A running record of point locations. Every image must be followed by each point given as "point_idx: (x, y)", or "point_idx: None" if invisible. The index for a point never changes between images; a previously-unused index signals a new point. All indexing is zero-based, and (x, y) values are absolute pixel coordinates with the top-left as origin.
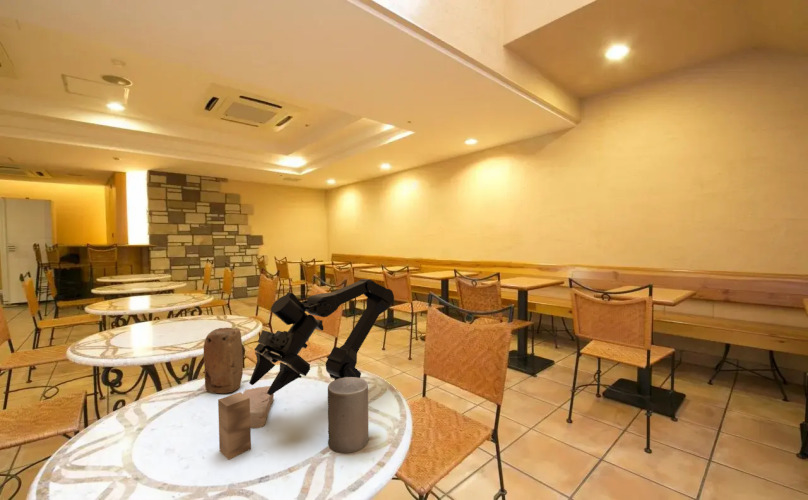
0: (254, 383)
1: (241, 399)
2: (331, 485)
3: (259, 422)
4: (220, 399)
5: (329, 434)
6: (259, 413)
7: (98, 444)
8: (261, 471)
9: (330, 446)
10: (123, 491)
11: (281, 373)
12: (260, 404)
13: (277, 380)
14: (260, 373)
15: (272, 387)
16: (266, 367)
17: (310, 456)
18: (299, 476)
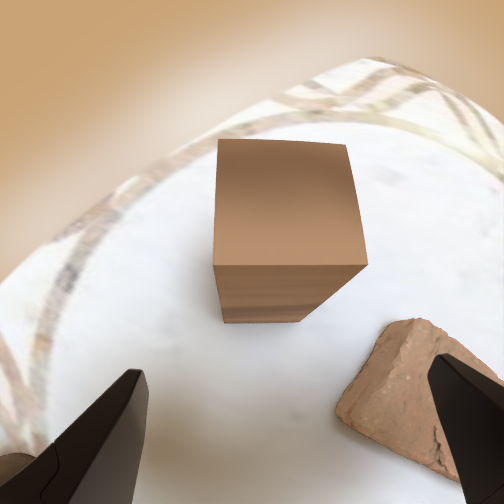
0: (430, 389)
1: (237, 219)
2: None
3: (345, 403)
4: (338, 151)
5: (21, 469)
6: (361, 408)
7: (475, 124)
8: (95, 288)
9: (33, 459)
10: (288, 93)
11: (3, 491)
12: (422, 432)
13: (54, 448)
14: (473, 443)
15: (99, 403)
16: (494, 498)
17: (47, 408)
18: (13, 335)
